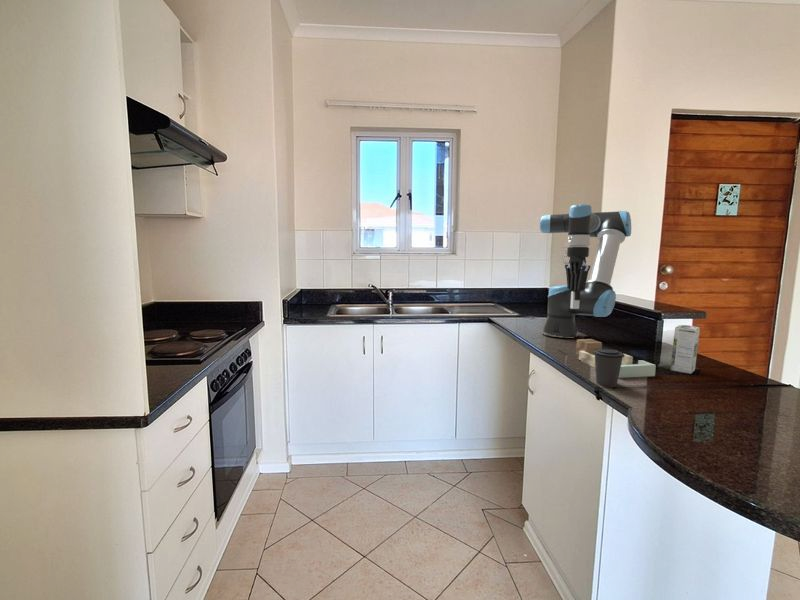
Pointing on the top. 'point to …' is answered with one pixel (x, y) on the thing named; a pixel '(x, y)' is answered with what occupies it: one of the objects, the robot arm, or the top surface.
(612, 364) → the coffee cup
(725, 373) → the top surface
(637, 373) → the backstop bay
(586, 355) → the tunnel
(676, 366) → the syrup box
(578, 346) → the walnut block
